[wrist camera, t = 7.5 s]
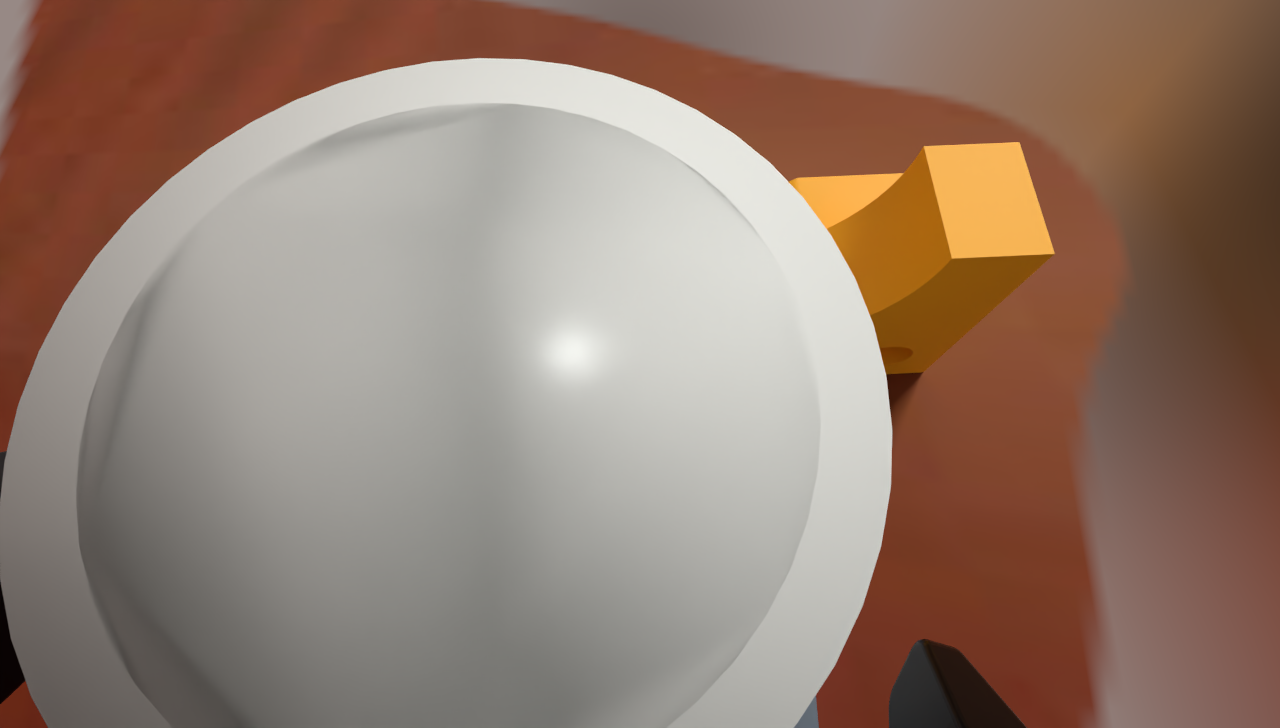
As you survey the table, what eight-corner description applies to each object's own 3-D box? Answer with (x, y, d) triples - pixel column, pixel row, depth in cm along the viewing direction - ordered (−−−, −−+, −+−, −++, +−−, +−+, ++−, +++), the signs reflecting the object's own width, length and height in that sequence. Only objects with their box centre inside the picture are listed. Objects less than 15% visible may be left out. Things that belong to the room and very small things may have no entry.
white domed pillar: (661, 722, 15) (756, 1190, 3) (450, 633, 15) (-252, 683, 3) (732, 501, 17) (985, 171, 4) (540, 430, 17) (298, -27, 5)
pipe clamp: (891, 239, 20) (997, 74, 14) (920, 374, 18) (1054, 253, 12) (492, 257, 20) (427, 98, 14) (487, 395, 18) (411, 283, 12)
